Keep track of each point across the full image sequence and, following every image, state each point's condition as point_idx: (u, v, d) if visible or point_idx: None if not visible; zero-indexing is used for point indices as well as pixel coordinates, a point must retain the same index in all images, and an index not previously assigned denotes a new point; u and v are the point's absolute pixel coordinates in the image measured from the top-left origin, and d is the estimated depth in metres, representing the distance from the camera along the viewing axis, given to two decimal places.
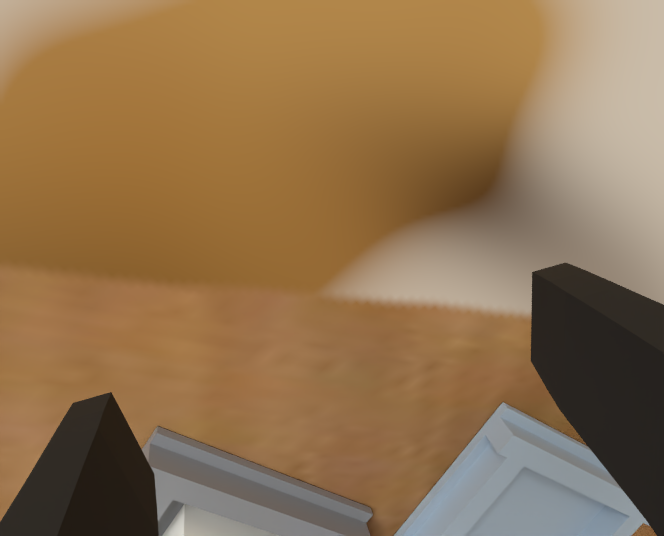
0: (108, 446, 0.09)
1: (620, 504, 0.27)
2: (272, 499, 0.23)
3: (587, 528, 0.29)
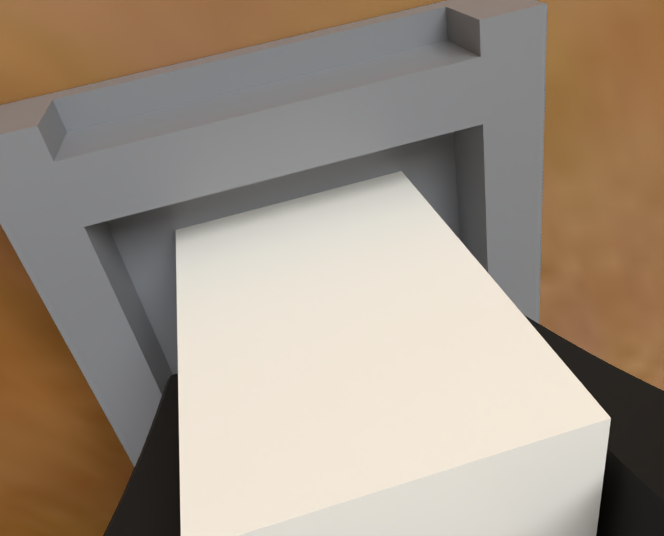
0: None
1: None
2: None
3: None
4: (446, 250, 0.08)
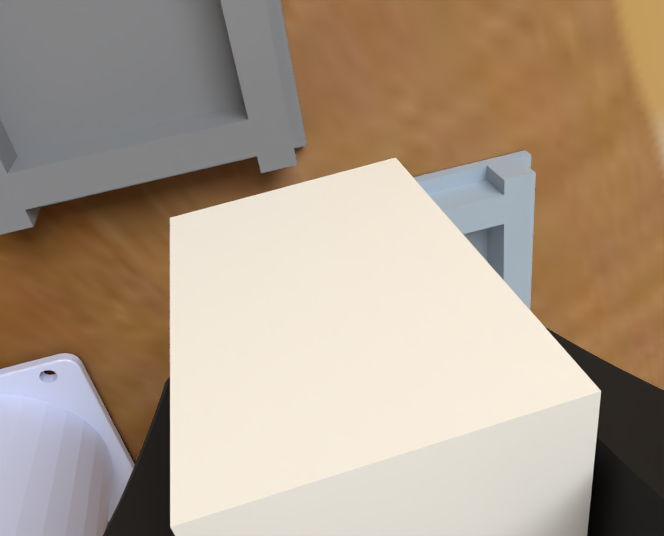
0: None
1: None
2: None
3: None
4: (439, 232, 0.08)
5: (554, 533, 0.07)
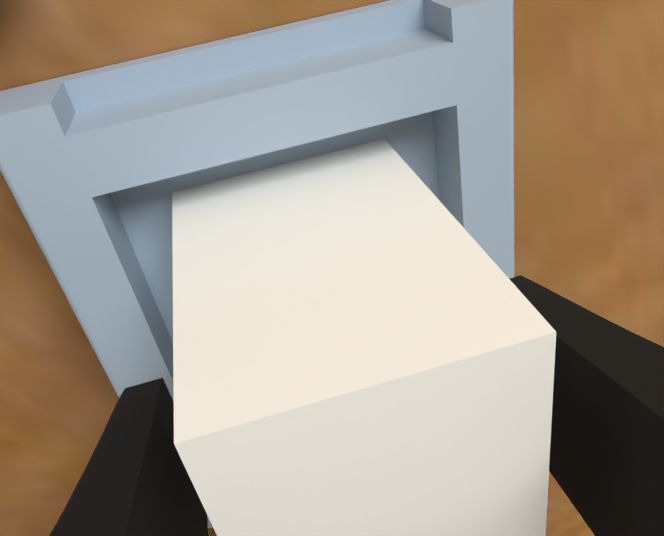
0: (164, 429, 0.09)
1: None
2: None
3: None
4: (421, 203, 0.09)
5: (518, 468, 0.07)
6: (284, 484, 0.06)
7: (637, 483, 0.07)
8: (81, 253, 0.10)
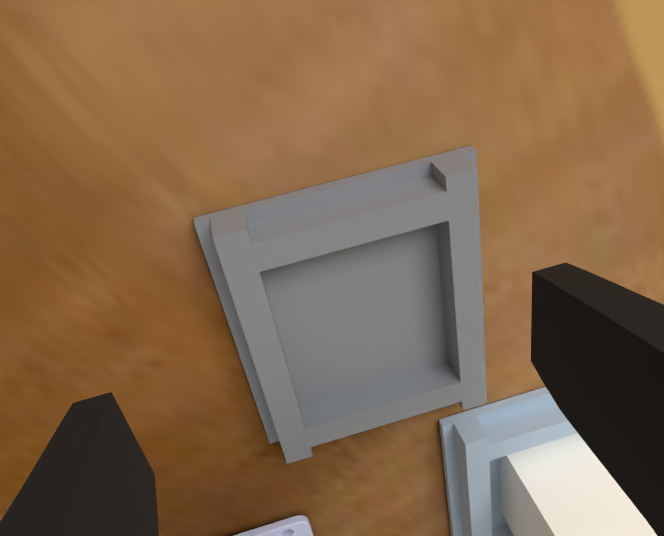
0: (108, 446, 0.09)
1: None
2: None
3: None
4: None
5: None
6: None
7: None
8: (478, 477, 0.26)
